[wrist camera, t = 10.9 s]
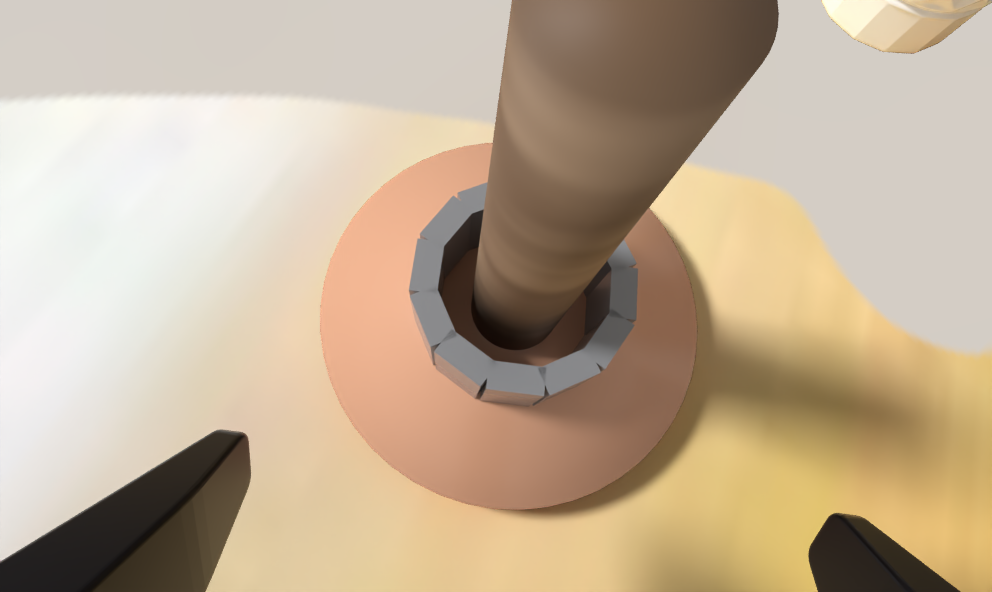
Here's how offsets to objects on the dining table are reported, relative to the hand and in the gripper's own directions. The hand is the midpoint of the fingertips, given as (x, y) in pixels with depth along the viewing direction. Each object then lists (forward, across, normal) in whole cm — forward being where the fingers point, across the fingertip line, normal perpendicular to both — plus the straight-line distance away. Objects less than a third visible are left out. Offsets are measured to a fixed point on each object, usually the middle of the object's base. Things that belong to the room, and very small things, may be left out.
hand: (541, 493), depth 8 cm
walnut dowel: (+10, 0, +2) cm, 11 cm away
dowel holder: (+11, 0, +3) cm, 12 cm away
